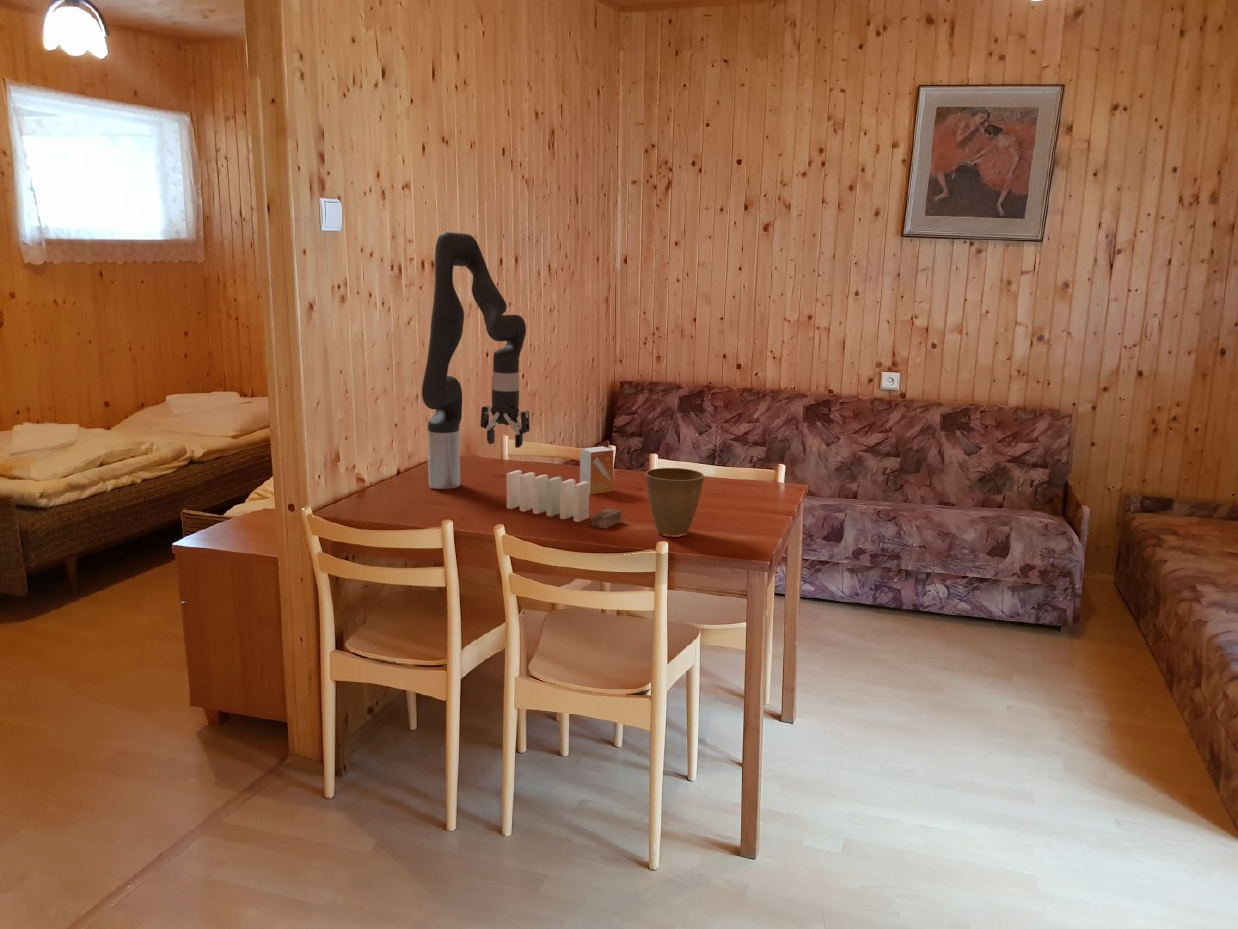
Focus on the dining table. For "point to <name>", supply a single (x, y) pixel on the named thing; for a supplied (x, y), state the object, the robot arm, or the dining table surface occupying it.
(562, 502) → the domino
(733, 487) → the dining table surface
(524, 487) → the domino
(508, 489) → the domino
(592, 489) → the small box
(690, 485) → the plant pot
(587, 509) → the domino
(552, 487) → the domino
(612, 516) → the stop block
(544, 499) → the domino
